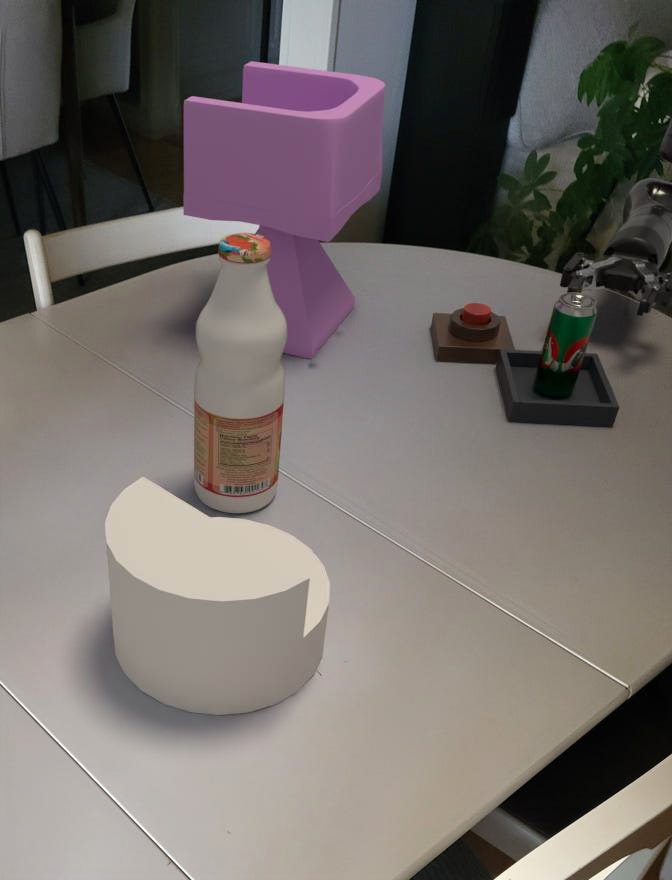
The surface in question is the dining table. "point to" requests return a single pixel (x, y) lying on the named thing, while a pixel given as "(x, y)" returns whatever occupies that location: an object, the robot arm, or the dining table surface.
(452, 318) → the block
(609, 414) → the tray
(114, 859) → the dining table surface
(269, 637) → the notched white cylinder
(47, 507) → the dining table surface
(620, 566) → the dining table surface
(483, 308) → the button
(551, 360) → the soda can
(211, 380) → the fruit juice
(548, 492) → the dining table surface
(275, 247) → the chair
